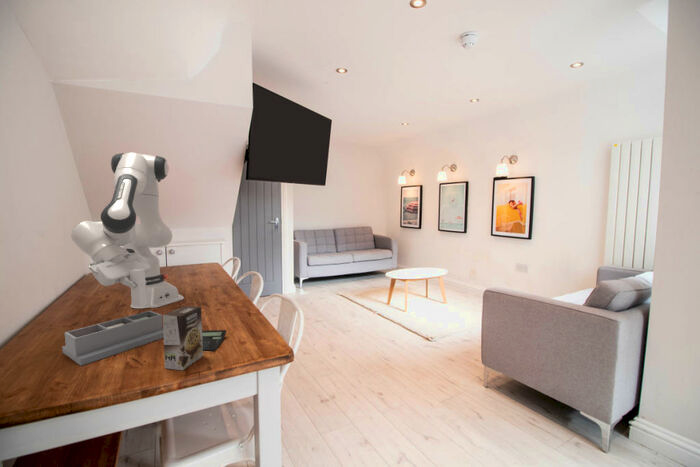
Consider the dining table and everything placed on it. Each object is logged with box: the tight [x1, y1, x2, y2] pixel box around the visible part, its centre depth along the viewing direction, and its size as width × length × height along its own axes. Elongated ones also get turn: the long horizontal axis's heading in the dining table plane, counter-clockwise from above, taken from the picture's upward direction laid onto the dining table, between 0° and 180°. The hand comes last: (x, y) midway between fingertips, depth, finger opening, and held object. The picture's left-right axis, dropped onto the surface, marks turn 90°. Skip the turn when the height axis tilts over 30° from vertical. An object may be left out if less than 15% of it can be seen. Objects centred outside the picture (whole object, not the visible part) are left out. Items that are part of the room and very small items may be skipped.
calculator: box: [202, 329, 227, 352], centre depth 107 cm, size 9×12×3 cm
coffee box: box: [162, 305, 204, 371], centre depth 94 cm, size 9×6×16 cm
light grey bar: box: [129, 269, 147, 308], centre depth 112 cm, size 3×3×13 cm
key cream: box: [106, 323, 125, 329], centre depth 107 cm, size 5×5×2 cm
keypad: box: [61, 310, 164, 367], centre depth 107 cm, size 25×16×8 cm, turn 147°
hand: (139, 285), depth 112 cm, fingers closed on light grey bar, 3 cm apart
